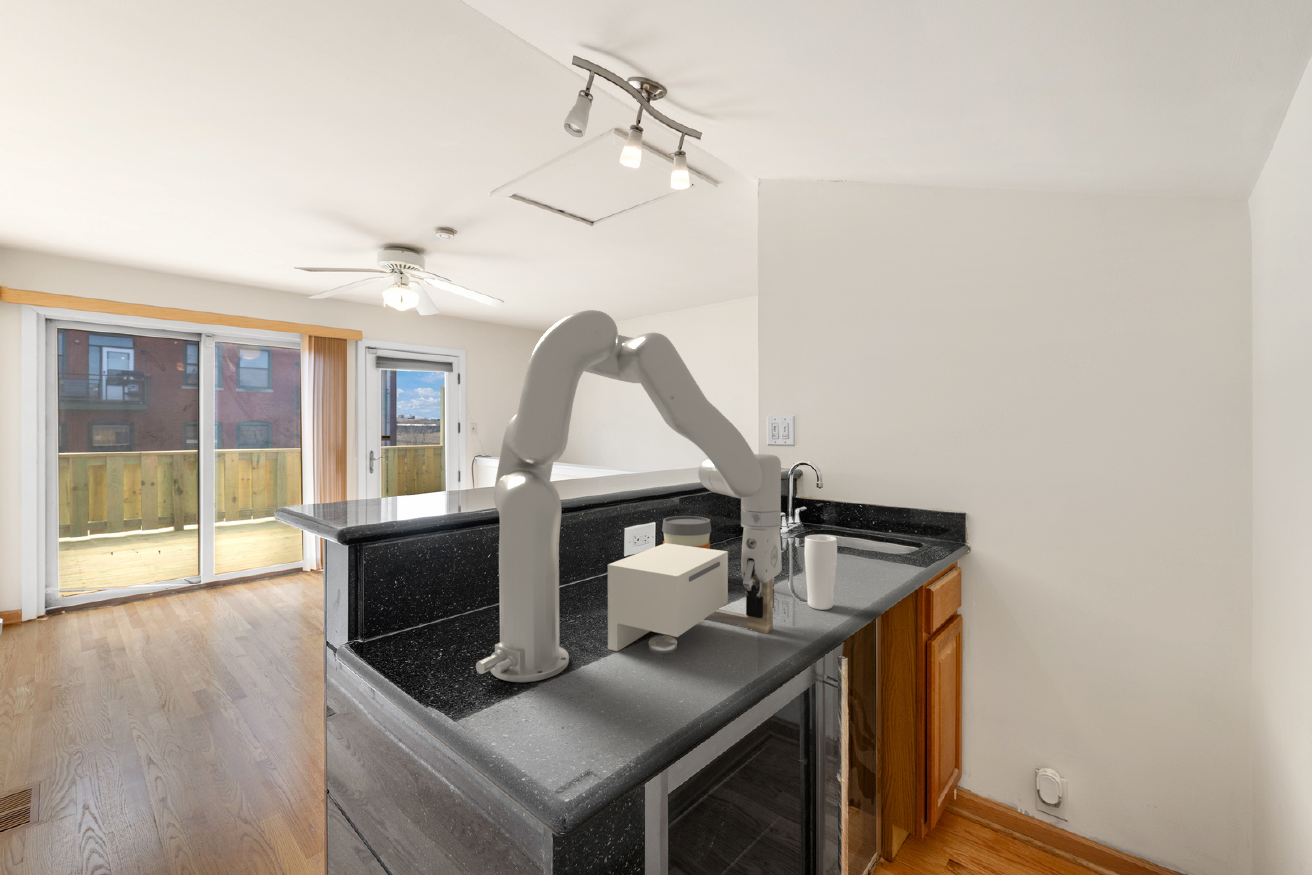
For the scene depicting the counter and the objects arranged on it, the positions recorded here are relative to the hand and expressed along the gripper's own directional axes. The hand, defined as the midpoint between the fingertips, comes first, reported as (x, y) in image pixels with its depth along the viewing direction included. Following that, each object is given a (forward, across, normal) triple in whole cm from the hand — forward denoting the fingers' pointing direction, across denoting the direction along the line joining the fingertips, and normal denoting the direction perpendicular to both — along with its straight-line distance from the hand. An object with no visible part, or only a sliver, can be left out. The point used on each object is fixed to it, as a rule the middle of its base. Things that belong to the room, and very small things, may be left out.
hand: (760, 611), depth 106 cm
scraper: (+3, 0, +7) cm, 8 cm away
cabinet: (+3, -13, +12) cm, 18 cm away
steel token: (+4, -18, +12) cm, 21 cm away
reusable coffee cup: (+4, +23, +28) cm, 37 cm away
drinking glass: (+4, +19, -6) cm, 20 cm away
